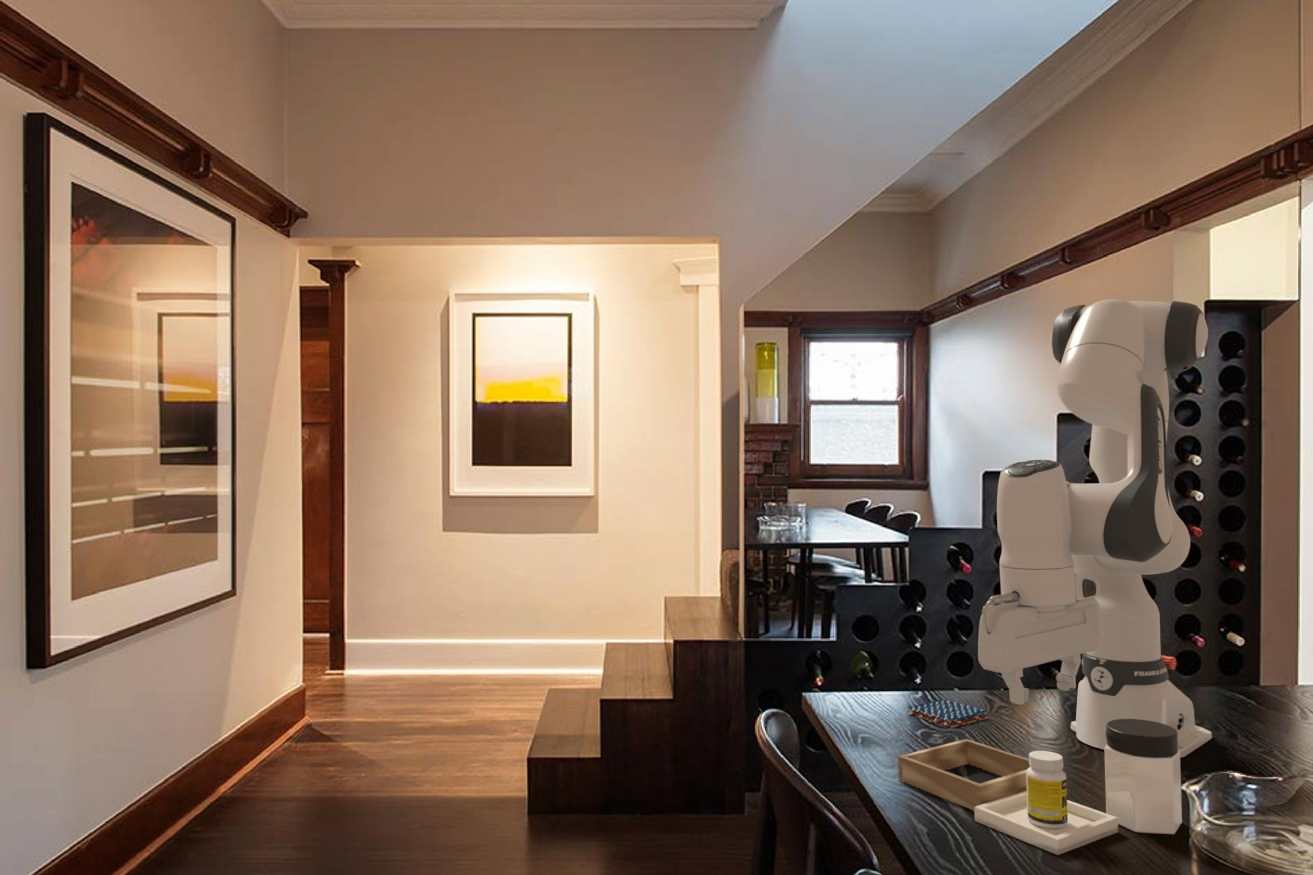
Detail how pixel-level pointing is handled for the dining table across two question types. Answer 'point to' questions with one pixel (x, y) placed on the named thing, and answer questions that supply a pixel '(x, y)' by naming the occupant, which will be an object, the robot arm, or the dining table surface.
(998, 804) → the tray
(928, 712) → the woven mat
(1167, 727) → the jar
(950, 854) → the dining table surface
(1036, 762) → the supplement bottle
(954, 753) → the frame
